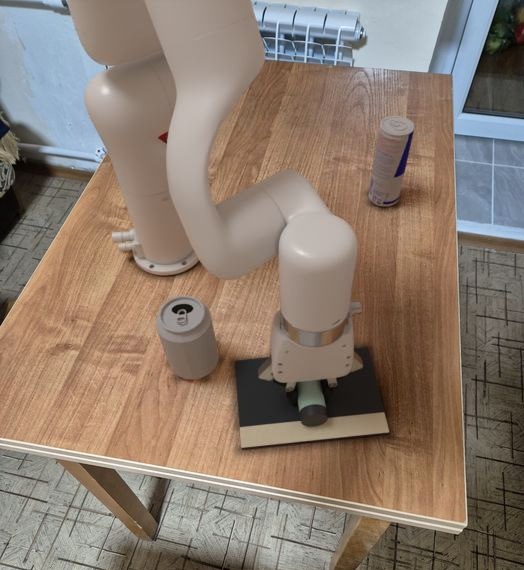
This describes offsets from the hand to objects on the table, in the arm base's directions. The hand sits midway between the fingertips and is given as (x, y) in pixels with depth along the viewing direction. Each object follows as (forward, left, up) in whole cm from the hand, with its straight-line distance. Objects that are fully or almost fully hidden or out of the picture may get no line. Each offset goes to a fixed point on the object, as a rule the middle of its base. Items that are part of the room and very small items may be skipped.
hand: (308, 394), depth 72 cm
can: (-16, +8, -1) cm, 18 cm away
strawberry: (-22, +64, -1) cm, 68 cm away
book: (0, 0, -1) cm, 1 cm away
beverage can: (+20, +40, -1) cm, 45 cm away
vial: (0, 0, 0) cm, 0 cm away
